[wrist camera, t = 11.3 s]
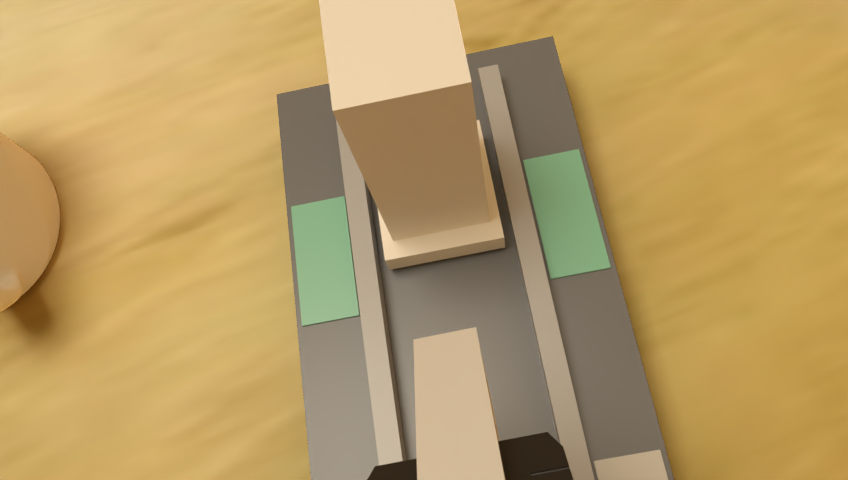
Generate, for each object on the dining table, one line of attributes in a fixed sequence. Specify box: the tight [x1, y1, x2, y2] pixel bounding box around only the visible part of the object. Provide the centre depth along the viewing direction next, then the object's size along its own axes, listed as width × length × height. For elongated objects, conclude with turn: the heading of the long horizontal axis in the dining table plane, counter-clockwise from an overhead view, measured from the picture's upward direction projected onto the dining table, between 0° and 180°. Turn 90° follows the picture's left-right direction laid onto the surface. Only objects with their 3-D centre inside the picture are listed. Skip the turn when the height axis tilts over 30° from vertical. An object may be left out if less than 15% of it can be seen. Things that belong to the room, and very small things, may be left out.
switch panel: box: [277, 36, 674, 480], centre depth 28 cm, size 12×24×4 cm, turn 9°
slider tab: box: [319, 0, 505, 270], centre depth 24 cm, size 4×5×10 cm
